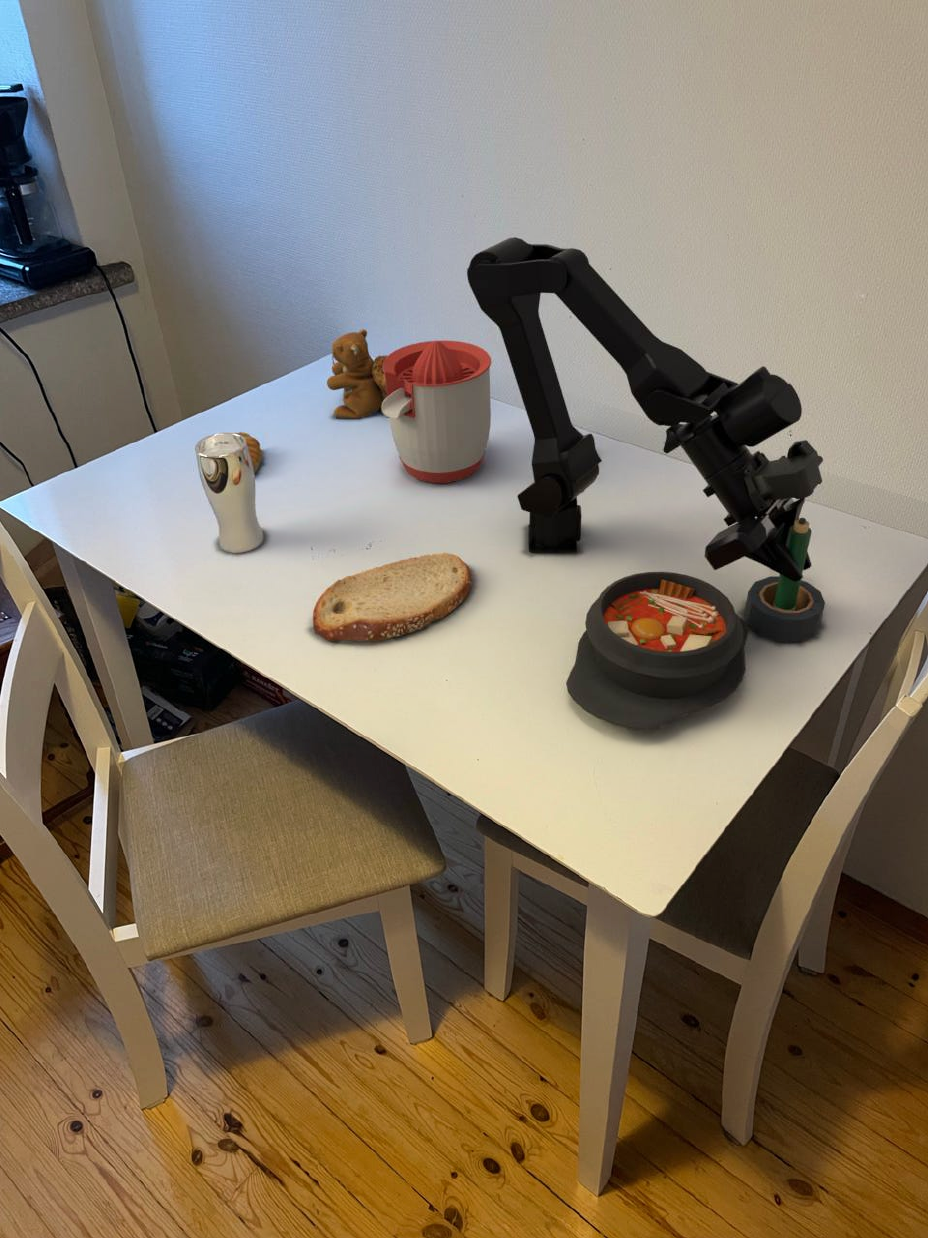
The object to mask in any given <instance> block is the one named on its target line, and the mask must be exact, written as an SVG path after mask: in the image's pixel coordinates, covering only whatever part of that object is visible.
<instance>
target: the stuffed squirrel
mask: <svg viewBox="0 0 928 1238" xmlns="http://www.w3.org/2000/svg"><path fill="white" fill-rule="evenodd" d="M367 336H368V331H367V330H366V329H364V328H363V329H361V330H359V331H358V332H356V331H354V332H348V333H346V334H343V335H341V336H339V337H338V338H337V339H336V340H334V342H333V343H332V344H331V360H332V363H331V365H332V366H331V373H332V374H333V375H331V376H330V377H329V378H328V379H327V380H326V386H327V388H328V389H329V390H330V391H331V390H332V391H337V390H341V389H343V395H342V398H343V399H342V402H343V404H342V405H339V406H337V407H336V408H335V409H334V410H333V416H334V417H335V418H338V419H361V418H365V417H368V416H370V415H373V414H374V413H376V412H377V411H378V410H379V411H380V412H382V403H383V401H384V400H385V399H386V398H387V392H386V382H385V373H384V370H383V362H384V360H385V358H386V357H387V356H388V355H387V354H386V355H378V356H376V357H375V358H374V359H373V358H372V356H371V355H370V352H369V345H368V341H367ZM335 361H336V362H335Z"/></svg>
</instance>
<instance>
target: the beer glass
mask: <svg viewBox="0 0 928 1238" xmlns="http://www.w3.org/2000/svg"><path fill="white" fill-rule="evenodd" d="M236 433H237V432H219V433H214V434H211V435H207V436H205V437H203V438H201V439H199V441H198V442H197V443H196V444H195V446H194V450H195V455H196V456H195V457H196V462H197V470H198V474H199V479H200V482H201V486H202V489H203V491H204V494H205V497H206V498H207V500H208V503H209V505H210V507H211V509H212V512H213V514H214V516H215V518H216V522H217V526H218V541H219V542H218V543H219V546H220V548H221V549H222V550H223V551H226V552H228V553H232V554H242V553H246V552H250V551H253V550H254V549H257V548H258V547H259V546H261V545H262V543H263V541H264V539H265V536H264V532H263V530H262V527H261V525H260V523H259V520H258V517H257V509H256V505H257V504H256V477H255V476H256V475H255V473H254V469H253V465H252V460H251V457H250V453H249V450H248V447H247V443H246V439H245V438H244V437H243V436H241V435H239V434H236Z"/></svg>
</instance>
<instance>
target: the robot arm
mask: <svg viewBox="0 0 928 1238" xmlns="http://www.w3.org/2000/svg"><path fill="white" fill-rule="evenodd" d="M466 276H467V277H466V278H467V282H468V285H469V287H470V289H471V291H472V294H473V296H474V298H475V300H476V302H477V304H478V306H479V309H480V310H481V311H482V313H484V314H485V315H486V316H487V317H488V318H489V319H490V320H491V321H492V322H493V323H494V324H495V325H496V326H497V327H498V329H499V332H500V334H501V337H502V340H503V344H504V347H505V350H506V353H507V357H508V358H509V363H510V365H511V368H512V371H513V375H514V377H515V381H516V384H517V387H518V390H519V394H520V396H521V400H522V402H523V406H524V409H525V412H526V415H527V418H528V421H529V426H530V427H531V431H532V433H533V438H534V439H533V442H534V443H533V449H532V457H531V470H532V474H533V481H534V482H532V483H531V484H530V485H528V486H527V487H526V488H525V489H523V490H522V491H521V492H519V494H517V500H518V502H519V506H520V509H521V510H522V511H524V512H527V513H529V514H528V517H529V518H528V519H529V520H528V521H529V524H528V532H527V533H528V534H527V535H528V536H527V537H528V539H527V540H528V543H527V546H528V549H527V550H528V552H529V553H577V552H578V542H580V540H581V539H582V506H581V505H580V504H578V497H579V495H581V494H583V493H584V492H585V491H586V490H587V489H588V488H589V487H590V486H592V485H593V483H595V482H596V481H597V479H598V477H599V475H600V464H601V463H602V461H603V460H602V458H601V456H600V455H599V453H598V451H597V448H596V442H595V437H594V435H593V434H592V433H586V434H584V435H583V434H582V433H581V432H580V431H579V430H578V429H577V428H576V427H575V426H574V425H573V423H572V420H571V417H570V414H569V410H568V407H567V405H566V400H565V397H564V394H563V391H562V390H563V389H562V387H561V384H560V380H559V378H558V374H557V371H556V367H555V364H554V361H553V357H552V354H551V351H550V348H549V344H548V341H547V338H546V334H545V331H544V327H543V324H542V321H541V317H540V309H539V308H540V303H541V294H555V296H557V298H558V299H559V300H560V301H561V302H562V303H563V304H564V305H565V307H566V308H567V309H568V310H569V311H570V312H571V313H572V314H573V315H574V317H576V319H577V320H578V321H579V322H580V323H581V324H582V325H583V326H584V327H585V329H586V330H587V331H588V332H589V333H590V334H591V335H592V336H593V337H594V339H595V340H596V341H598V343H599V344H600V345H601V346H602V347H603V348H604V350H605V351H606V352H607V353H608V354H609V355H610V356H611V357H612V358H613V359H614V360H615V361H616V363H617V364H618V365H619V366H620V368H621V369H622V371H623V372H624V374H625V375H626V378H627V382H628V385H629V389H630V393H631V395H632V397H633V398H634V399H635V401H636V402H637V404H638V406H639V407H640V409H641V410H642V412H643V413H644V414H645V416H646V417H647V418H648V420H649V421H651V422H652V423H653V424H655V425H657V426H659V427H661V426H665V427H668V428H666V430H665V436H666V437H665V441H664V444H663V449H662V450H663V453H664V454H669V453H671V452H672V451H675V450H676V449H678V448H679V447H681V448H682V450H683V452H684V453H685V455H687V457H688V458H689V460H690V461H691V463H692V465H694V467H695V468H696V470H697V471H698V472H699V474H700V476H702V478H703V480H704V481H705V482H706V484H707V485H706V487H704V488H703V489H702V492H703V493H704V495H705V496H706V498H710V497H712V496H713V495H715V496H716V498H717V499H718V501H719V503H721V505H722V506H723V507H724V509H725V510H726V512H727V513H728V514H726V516H725V517H724V518H723V521H724V523H725V524H726V525H727V528H725V529H723V530H721V531H719V532H718V533H717V534H716V535H715V536H714V537H713V538H712V539H711V541H709V543H708V544H706V546H705V549H704V555H703V556H704V559H706V561H707V563H708V564H709V566H710V567H711V568H712V569H713V570H714V571H717V570H720V569H722V568H724V567H726V566H728V565H730V564H733V563H734V562H736V561H738V560H740V559H743V558H747V559H748V560H751V561H754V562H755V563H758V564H760V565H762V566H764V567H766V568H768V569H770V570H772V571H773V572H776V573H777V574H778V575H780V574H781V575H783V576H785V577H787V578H788V579H790V580H792V581H794V582H796V581H799V580H803V578H804V576H803V573H802V574H801V571H800V569H799V567H798V565H797V564H796V562H795V560H794V558H793V557H792V555H791V553H790V552H789V550H788V548H787V546H786V542H787V537H788V532H789V528H790V527H791V526H792V525H794V522H795V521H796V520H799V519H800V516H801V512H802V509H803V505H804V504H805V503H806V498H808V497H811V496H812V495H813V493H814V492H815V489H816V488H817V486H818V485H821V484H822V483H823V478H822V473H821V471H820V470H821V469H820V466H821V464H822V463H823V462H824V458H823V456H822V455H819V454H818V451H817V450H816V449H815V448H814V447H813V446H812V445H811V443H810V441H808V440H807V439H805V440H799V441H794V442H793V443H792V444H791V446H789V448H788V450H787V453H786V455H781V456H780V457H779V458H778V459H774V460H769V459H768V457H767V456H766V455H765V453H763V452H760V450H756V451H755V452H753V453H752V452H751V451H750V450H749V448H750V447H752V448H753V447H756V446H758V445H759V444H761V443H763V442H765V441H766V440H768V439H770V438H772V437H773V436H775V435H777V434H779V433H780V432H782V431H784V430H785V429H787V428H789V427H790V426H792V425H794V424H795V423H797V422H799V421H800V420H801V417H802V414H803V410H802V409H803V408H802V403H801V399H800V397H799V394H798V393H797V391H796V389H795V388H794V386H793V385H792V383H790V382H789V383H788V382H787V381H786V380H785V379H784V378H782V377H781V376H779V375H777V374H771V373H770V371H769V370H768V369H767V367H766V366H765V365H762V366H761V367H759V368H758V369H756V370H755V371H753V372H752V373H751V374H750V375H749V376H747V378H745V379H744V380H742V381H741V382H740V383H737V382H735V381H732V380H730V379H728V378H724V377H722V376H720V375H717V374H714V373H712V372H709V371H707V370H706V369H705V367H703V366H702V365H701V364H700V363H699V362H698V361H696V360H695V359H693V358H692V357H691V356H690V355H689V354H688V353H687V352H685V351H683V349H681V348H680V347H677V346H674V345H671V344H670V343H667V342H664V341H662V340H661V339H659V337H657V335H655V334H654V333H653V332H652V331H651V330H650V329H649V328H648V327H647V326H646V325H645V324H644V322H643V321H642V320H641V319H640V318H639V317H638V316H637V314H636V313H635V312H634V311H633V310H632V309H631V308H630V307H629V306H628V305H627V303H626V302H624V300H623V299H622V298H621V297H620V296H619V295H618V294H617V293H616V291H615V290H614V289H613V288H612V287H611V286H610V285H609V284H608V283H607V281H605V279H604V278H603V277H602V276H601V275H600V274H599V273H598V272H597V271H596V269H594V267H593V266H592V265H591V264H590V261H589V258H588V256H587V255H586V253H585V252H583V251H582V250H581V249H578V248H573V247H570V248H561V247H558V246H554V245H553V244H552V245H551V244H548V243H547V244H546V243H528V242H527V241H525V240H524V239H523V238H519V237H508V238H506V239H503V240H502V241H500V242H498V243H496V244H494V245H492V246H490V247H488V248H486V249H484V250H481V251H480V252H477V253H476V254H475V255H474V256H473V257H472V258H471V259H470V262H469V265H468V268H467V269H466ZM714 413H715V414H714ZM712 414H714V415H712ZM748 447H749V448H748ZM794 499H795V500H794ZM812 565H813V564H812V561H811V558H810V554H809V551H807V555H806V560H805V564H804V569H803V571H807V570H808V569H810V568H811V567H812Z"/></svg>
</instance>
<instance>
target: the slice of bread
mask: <svg viewBox="0 0 928 1238" xmlns="http://www.w3.org/2000/svg"><path fill="white" fill-rule="evenodd" d="M472 584H473V575H472V573H471V570H470V568H469V565H468V564H467V563H466V562H465V561H464V560H463V559H462V558H461V557H459V556H458V555H455V554H452V553H448V552H443V553H433V554H426V555H420V556H419V557H418V556H417V557H416V556H415V557H410V558H407V559H401V560H398V561H395V562H390V563H386V564H383V565H381V566H375V567H373V568H371V569H367V570H363V571H361V572H358V573H355V574H352V575H347V576H345V577H342V579H338V580H336V581H334V582H333V584H331V585H330V586H329V587H327V588H326V589H325V591H323V593H321V595H320V596H319V598H318V600H317V601H316V603H315V606H314V608H313V613H312V626H313V627H312V628H313V630H314V632H315V633H316V634H317V635H319V636H321V637H322V638H324V639H325V640H328V641H329V642H335V643H336V642H339V641H359V642H381V641H386V640H389V639H391V638H392V639H393V638H396V637H401V636H404V635H407V634H411V633H413V632H416V631H419V630H423V629H424V628H425V627H426V626H427V625H429V624H430V623H432V622H434V621H437V620H441V619H443V618H444V617H446V616H447V615H449V614H451V613H452V612H453V611H454V610H455V609H456V608H457V607H458V606H460V604H462V602H464V601H465V599H466V598H467V596H468V594H469V593H470V590H471V588H472Z"/></svg>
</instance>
